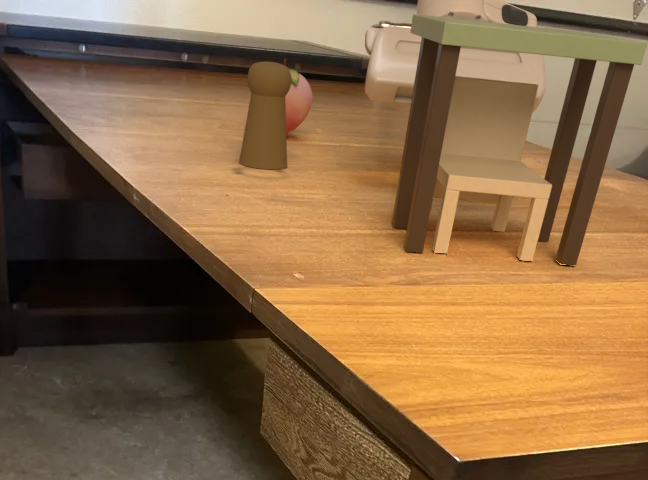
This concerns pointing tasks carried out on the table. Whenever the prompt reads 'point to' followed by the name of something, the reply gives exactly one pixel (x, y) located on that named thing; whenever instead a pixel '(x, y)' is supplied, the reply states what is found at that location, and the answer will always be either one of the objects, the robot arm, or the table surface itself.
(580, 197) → the side table
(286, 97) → the decorative fruit
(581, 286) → the table surface
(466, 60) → the robot arm
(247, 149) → the cork
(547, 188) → the chair
